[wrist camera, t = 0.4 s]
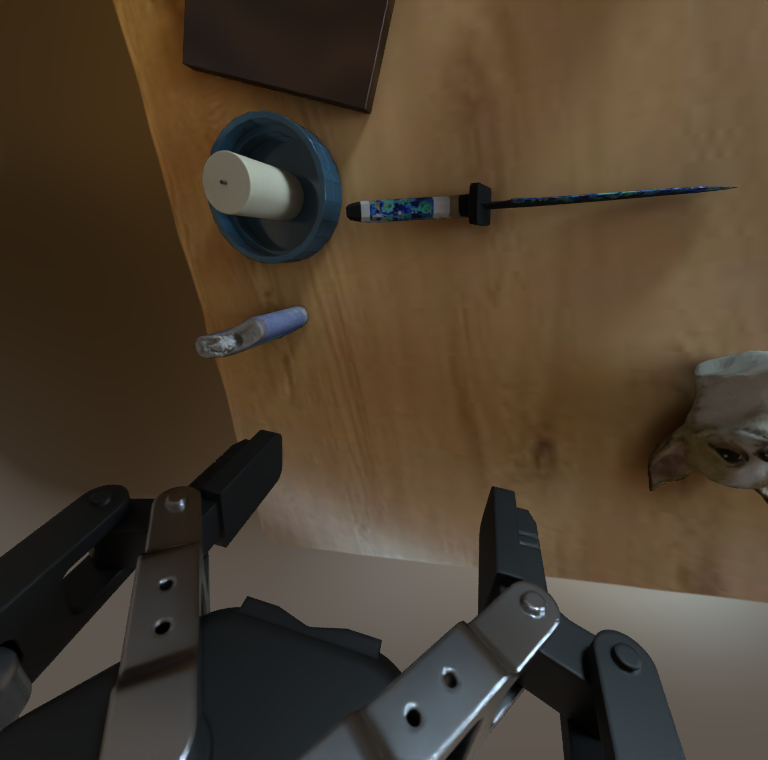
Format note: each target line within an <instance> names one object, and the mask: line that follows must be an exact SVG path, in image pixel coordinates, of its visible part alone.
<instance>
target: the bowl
mask: <svg viewBox="0 0 768 760" xmlns="http://www.w3.org/2000/svg"><path fill="white" fill-rule="evenodd" d="M223 150H225V151H230V152H233V153H236V154H239V155H242V156H245V157H248V158H250V159H253V160H256V161H259V162H262V163H265V164H268V165H271V166H274V167H276V168H279V169H282V170H285V171H288V172H290V173H292V174H293V175H295V176H296V177H297V178H298V180H299V181H300V183H301V185H302V188H303V192H304V203H303V207H302V209H301V211H300V213H299V214H298V215H297V216H296V217H295V218H294V219H292V220H289V221H280V220H272V219H263V218H255V217H247V216H239V215H230V214H224V213H222V212H220V211H218V210H217V209H216V208H214V207H213V206H212V204H211V203H210V202H209V200H208V202H209V206H210V209H211V212H212V215H213V218H214V221H215V223H216V224H217V226H218V228H219V230H220V231H221V233H222V235H223V236H224V237H225V239H226V240H227V241H228V242H229V243H230V244H231V245H232V246H233V248H235V249H236V250H237V251H239V252H240V253H241V254H243V255H244V256H246V257H247V258H250V259H253V260H255V261H258V262H261V263H289V262H297V261H301V260H304V259H308V258H309V257H311V256H312V255H314V254H315V253H317V252H318V251H320V250H321V249H322V248H323V246H324V245H325V244H326V243H327V242H328V240H329V239H330V238H331V236H332V234H333V232H334V230H335V227H336V225H337V222H338V219H339V214H340V209H341V183H340V179H339V175H338V171H337V167H336V164H335V162H334V160H333V158H332V156H331V154H330V152H329V150H328V149H327V148H326V146H325V145H324V144H323V143H322V142H321V141H320V140H319V138H318V137H317V136H316V135H314V134H313V133H311V132H310V131H308V130H307V129H305V128H304V127H302V126H300V125H299V124H297V123H295V122H294V121H292V120H290V119H288V118H287V117H285V116H283V115H281V114H277V113H274V112H270V111H265V110H264V111H253V112H247V113H245V114H243V115H241V116H239V117H237V118H235V119H234V120H232V121H231V122H230V123H229V124H228V125H227V126H226V127H225V128H224V129H223V130H222V131H221V133H220V134H219V136H218V138H217V140H216V141H215V143H214V145H213V147H212V150H211V154H210V156H211V155H213V154H214V153H216V152H218V151H223Z"/></svg>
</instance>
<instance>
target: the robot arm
mask: <svg viewBox="0 0 768 760" xmlns="http://www.w3.org/2000/svg"><path fill="white" fill-rule="evenodd" d="M281 471H282V436H281V434H278V433H274V432H270V431H266V430H260V431H259V432H258V433H257V434H256V435H255V436H254V437H253V438H251V439H250V440H247V439H244V440H242V441H240V442H238V443H236V444H234V445H232V446H231V447H230V448H229V449H228V450H227V451H226V452H225V453H224V454H223V455H222V456H220V457H219V458H218V459H217V460H216V462H214V463H213V464H211V466H209V467H208V468H207V469H206V470H205V471H204V472H203V473H202V474H201V475H200V476H198V477H197V478H196V479H195V480H194V481H193V482H192V483H191V484H190V485H189V486H182V487H175V488H172V489H169V490H167V491H165V492H163V493H161V494H160V495H159V496H158V497H156V499H130V496H129V492H128V490H127V489H126V488H125V487H123V486H120V485H106V486H101V487H98V488H95V489H93V490H90V491H88V492H87V493H85V494H83V495H82V496H81V497H79V498H78V499H77V500H76V501H74V502H73V503H71V504H70V505H69V506H68V507H66V508H65V509H64V510H62V511H61V512H60V513H59V514H57V515H56V516H54V517H53V518H52V519H50V520H49V521H48V522H46V523H45V524H44V525H42V526H41V527H40V528H38V529H37V530H36V531H34V532H33V533H32V534H30V535H29V536H28V537H27V538H25V539H24V540H23V541H21V542H20V543H19V544H17V545H16V546H15V547H14V548H12V549H11V550H9V551H8V552H7V553H5V554H4V555H3V556H2V557H0V760H473V758H474V757H475V755H476V754H477V752H478V751H479V749H480V748H481V746H482V744H483V743H484V741H485V739H486V738H487V737H488V735H489V734H490V733H491V731H492V730H493V729H494V728H495V726H496V725H497V724H498V723H499V721H500V720H501V719H502V718H503V716H504V715H505V714H506V712H507V711H508V710H509V708H510V707H511V706H512V705H513V704H514V702H515V701H516V700H517V699H518V697H519V696H520V695H521V693H522V692H523V691H524V689H526V690H528V691H529V692H530V693H532V694H533V695H535V696H536V697H538V698H539V699H540V700H542V701H543V702H545V703H546V704H548V705H549V706H550V707H552V708H553V709H555V710H556V711H558V712H559V713H560V720H561V731H562V740H563V751H564V760H686V759H685V755H684V752H683V749H682V746H681V743H680V740H679V737H678V734H677V731H676V727H675V725H674V722H673V718H672V715H671V712H670V709H669V706H668V703H667V700H666V696H665V693H664V690H663V687H662V684H661V681H660V678H659V675H658V672H657V669H656V666H655V664H654V663H653V661H652V659H651V658H650V656H649V655H648V653H647V652H646V651H645V650H644V649H643V648H642V647H641V646H640V645H639V644H638V643H636V642H635V641H634V640H633V639H631V638H630V637H628V636H627V635H625V634H623V633H620V632H618V631H614V630H603V631H600V632H599V633H597V635H596V636H595V635H594V634H592V633H590V632H588V631H587V630H585V629H583V628H582V627H580V626H578V625H577V624H575V623H573V622H572V621H570V620H569V619H568V618H566V617H565V616H564V615H563V614H562V613H561V612H560V611H559V608H558V606H557V604H556V602H555V600H554V599H553V598H552V597H551V595H550V594H549V593H548V591H547V586H546V580H545V574H544V568H543V562H542V556H541V550H540V544H539V539H538V532H537V526H536V522H535V521H534V519H533V518H532V516H531V514H530V513H529V511H528V510H525V509H521V508H517V507H516V499H515V492H514V491H511V490H506V489H502V488H498V487H494V486H492V488H491V490H490V494H489V497H488V500H487V504H486V507H485V510H484V514H483V517H482V521H481V526H480V534H479V589H478V615H477V617H475V618H474V619H473V620H472V621H471V622H469V623H466V622H464V621H461V622H459V623H457V624H456V625H455V626H454V627H453V628H451V629H450V630H449V631H448V632H447V633H446V634H445V635H444V636H443V637H441V638H440V639H439V640H438V641H437V642H436V643H435V644H434V645H432V646H431V647H430V648H429V649H428V650H427V651H426V652H425V653H423V654H422V655H421V656H420V657H419V658H418V659H417V660H416V661H414V662H413V663H412V664H411V665H410V666H409V667H408V668H407V669H406V670H404V671H403V672H402V673H401V671H399V669H398V668H397V667H396V666H395V665H394V664H393V663H392V662H391V661H390V660H389V659H388V658H387V657H385V656H384V655H382V654H381V653H380V648H381V642H382V640H380V639H376V638H374V637H371V636H368V635H364V634H362V633H359V632H355V631H352V630H349V629H340V628H319V627H318V628H317V627H309V626H306V625H305V624H303V623H302V622H300V621H299V620H298V619H296V618H295V617H293V616H292V615H290V614H289V613H288V612H286V611H285V610H283V609H282V608H280V607H279V606H276V605H273V604H270V603H267V602H264V601H261V600H258V599H255V598H251V597H249V596H247V598H246V599H245V601H244V602H243V604H242V606H241V607H233V608H226V609H220V610H217V611H213V612H210V590H209V589H210V587H209V554H208V551H209V550H210V549H211V547H212V546H213V545H214V544H216V545H219V546H222V547H227V546H228V545H229V543H230V542H231V541H232V540H233V538H234V537H235V535H236V534H237V533H238V532H239V530H240V529H241V528H242V527H243V525H244V524H245V523H246V521H247V520H248V519H249V518H250V516H251V515H252V513H253V512H254V511H255V510H256V508H257V507H258V506H259V505H260V503H261V502H262V501H263V499H264V498H265V497H266V496H267V494H268V493H269V492H270V490H271V489H272V488H273V486H274V485H275V484H276V483H277V481H278V479H279V477H280V475H281ZM88 551H89V555H88V556H87V557H86V558H85V559H84V560H83V561H82V562H81V563H80V564H79V565H77V567H75V568H74V569H73V570H72V571H71V572H70V573H69V574H68V575H67V576H66V577H65V578H64V579H63V577H64V575H65V574H66V572H67V571H68V570H69V569H70V568H71V567H72V566H73V565H74V564H75V563H76V562H77V561H78V560H79V559H80V558H81V557H83V556H84V555H85V554H86V553H87V552H88ZM135 569H136V571H135V577H134V583H133V589H132V595H131V601H130V607H129V613H128V619H127V625H126V631H125V637H124V643H123V649H122V655H121V661H120V662H118V663H116V664H115V665H113V666H111V667H109V668H108V669H106V670H104V671H102V672H100V673H99V674H97V675H95V676H93V677H91V678H90V679H88V680H86V681H84V682H83V683H81V684H79V685H77V686H75V687H74V688H72V689H70V690H68V691H66V692H65V693H63V694H61V695H59V696H57V697H56V698H54V699H52V700H50V701H49V702H47V703H45V704H43V705H41V706H40V707H38V708H36V709H34V710H32V711H31V712H29V713H27V714H25V715H24V716H22V717H20V718H19V714H20V713H21V712H22V710H23V709H24V707H25V706H26V704H27V702H28V700H29V698H30V695H31V691H32V690H31V689H32V685H31V684H32V683H33V682H34V681H35V680H36V678H38V676H39V675H40V674H41V673H42V672H43V671H44V670H45V669H46V667H47V666H48V665H49V664H50V663H51V662H52V661H53V660H54V659H55V658H56V656H57V655H58V654H59V653H60V652H61V651H62V650H63V648H64V647H65V646H66V645H67V644H68V643H69V642H70V641H71V640H72V639H73V638H74V637H75V635H76V634H77V633H78V632H79V631H80V630H81V629H82V628H83V626H84V625H85V624H86V623H87V622H88V621H89V620H90V619H91V618H92V616H93V615H94V614H95V613H96V612H97V611H98V610H99V609H100V608H101V606H102V605H103V604H104V603H105V602H106V601H107V600H108V599H109V598H110V597H111V595H112V594H113V593H114V592H115V591H116V590H117V589H118V588H119V586H120V585H121V584H122V583H123V582H124V581H125V580H126V579H127V578H128V577H129V576H130V574H131V573H132V572H133V571H134V570H135Z"/></svg>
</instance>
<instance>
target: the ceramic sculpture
mask: <svg viewBox="0 0 768 760" xmlns="http://www.w3.org/2000/svg"><path fill="white" fill-rule="evenodd" d="M693 373H694V379H695V385H696V388H697V392H696V399H695V401H694V403H693V406H692V408H691V410H690V412H689V413H688V415H687V418H686V421H685V423H684V425H682V426H681V427H680V428H677V429H675V430H674V431H673V432H671V433H670V434H669V435H668V436H666V437H665V438H664V439H663V440H662V441H661V442H660V443H659V444H657V445H656V447H655V449H654V450H653V452H652V453H651V455H650V458H649V465H648V476H649V489H650V491H654V490H655V489H657V488H658V487H660V486H661V485H663V484H666V483H669V482H672V481H678V480H681V479H684V478H685V477H687V476H688V475H690V474H691V473H693V472H694V470H698V471H700V472H701V473H702V474H704V475H705V476H706V477H707V478H708V479H710V480H712V481H714V482H716V483H719V484H722V485H725V486H729V487H734V488H742V489H754V490H755V491H756V492H758V493H759V494H760V495H761V496H762V497H763V499H764V500H765V501H766V503H767V504H768V351H746V352H743V353H740V354H735V355H729V356H725V357H721V358H716V359H711V360H706V361H704V362H702V363H700V364H698V365H697V366H696V368H695V370H694V372H693Z"/></svg>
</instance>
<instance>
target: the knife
mask: <svg viewBox="0 0 768 760" xmlns="http://www.w3.org/2000/svg"><path fill="white" fill-rule="evenodd" d="M732 188H737V187H686V188H670V189H656V190H642V191H629V192H615V193H602V194H588V195H574V196H559V197H542V198H517V199H511V200H507V201H496V202H491V189H490V188H488V187H487V186H485V185H483V184H481V183H471V185H470V191H469V194H466V195H458V196H441V197H424V198H408V199H392V200H375V201H360V202H356V203H352V204H349V205H348V206H347V207H346V214H347V217H348V218H349V219H350V220H353V221H358V222H363V223H374V222H391V221H408V220H424V219H427V220H430V219H441V218H442V219H446V218H458V217H469V223H470V224H474V225H481V226H487V225H489V224H490V210H491V209H502V208H517V207H534V206H546V205H559V204H571V203H583V202H595V201H607V200H619V199H630V198H641V197H653V196H664V195H676V194H688V193H699V192H708V191H717V190H725V189H732Z"/></svg>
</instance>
